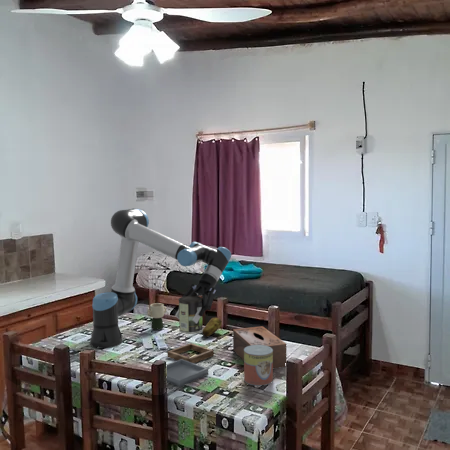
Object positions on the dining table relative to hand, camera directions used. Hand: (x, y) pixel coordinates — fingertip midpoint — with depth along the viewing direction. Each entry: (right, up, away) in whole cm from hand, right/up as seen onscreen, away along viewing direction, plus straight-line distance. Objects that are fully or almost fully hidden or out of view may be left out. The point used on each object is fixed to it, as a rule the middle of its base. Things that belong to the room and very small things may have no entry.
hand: (185, 319), depth 204 cm
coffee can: (+2, -5, +3) cm, 6 cm away
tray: (-1, -19, -15) cm, 24 cm away
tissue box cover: (+32, -18, +3) cm, 36 cm away
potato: (+10, -15, +36) cm, 40 cm away
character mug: (-19, -14, +46) cm, 51 cm away
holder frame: (+2, -17, +6) cm, 18 cm away
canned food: (+30, -20, -20) cm, 41 cm away
